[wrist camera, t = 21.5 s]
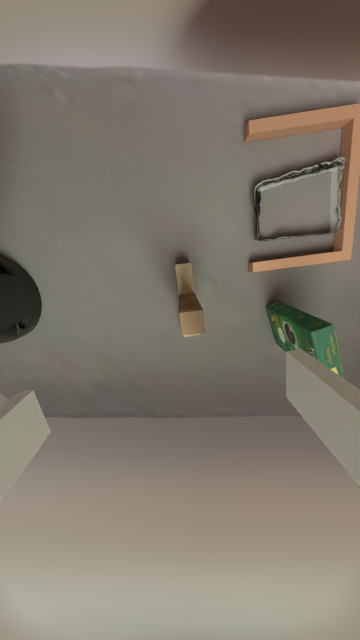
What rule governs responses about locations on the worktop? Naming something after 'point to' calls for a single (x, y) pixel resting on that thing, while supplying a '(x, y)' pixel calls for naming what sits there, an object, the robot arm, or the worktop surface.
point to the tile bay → (356, 149)
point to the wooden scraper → (188, 302)
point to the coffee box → (305, 334)
